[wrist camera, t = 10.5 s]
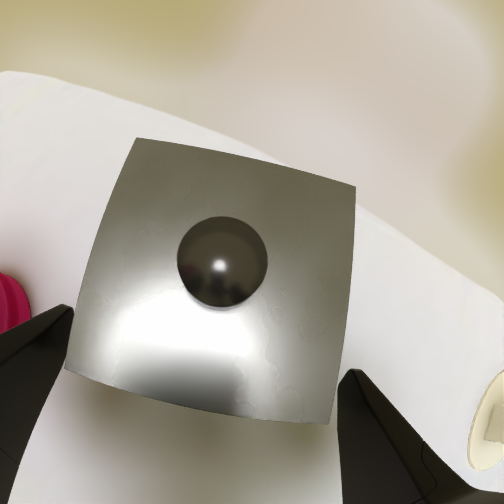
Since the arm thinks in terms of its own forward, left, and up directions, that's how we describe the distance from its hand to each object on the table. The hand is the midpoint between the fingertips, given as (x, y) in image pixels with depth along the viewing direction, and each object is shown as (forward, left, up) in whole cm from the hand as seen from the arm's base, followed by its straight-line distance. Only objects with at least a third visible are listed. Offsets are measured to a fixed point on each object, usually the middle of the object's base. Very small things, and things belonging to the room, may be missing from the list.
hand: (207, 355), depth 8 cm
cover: (+1, +2, -8) cm, 9 cm away
